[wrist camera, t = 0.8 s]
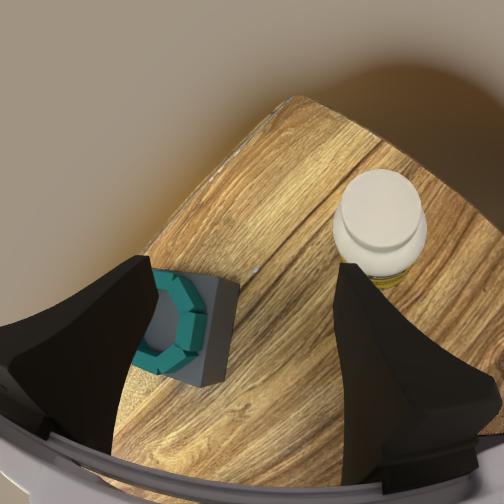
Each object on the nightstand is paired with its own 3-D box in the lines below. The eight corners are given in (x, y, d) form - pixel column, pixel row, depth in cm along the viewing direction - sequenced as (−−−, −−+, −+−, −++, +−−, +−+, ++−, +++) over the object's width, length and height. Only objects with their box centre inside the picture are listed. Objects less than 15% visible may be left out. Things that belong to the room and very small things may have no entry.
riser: (224, 381, 28) (200, 388, 24) (149, 357, 32) (122, 358, 28) (240, 284, 30) (218, 277, 26) (163, 273, 34) (137, 265, 30)
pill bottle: (349, 297, 26) (334, 275, 15) (337, 229, 28) (313, 169, 17) (419, 283, 24) (450, 250, 13) (403, 215, 25) (415, 146, 15)
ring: (197, 382, 24) (184, 385, 23) (125, 355, 28) (111, 355, 26) (214, 280, 26) (202, 277, 24) (139, 269, 30) (126, 265, 28)
